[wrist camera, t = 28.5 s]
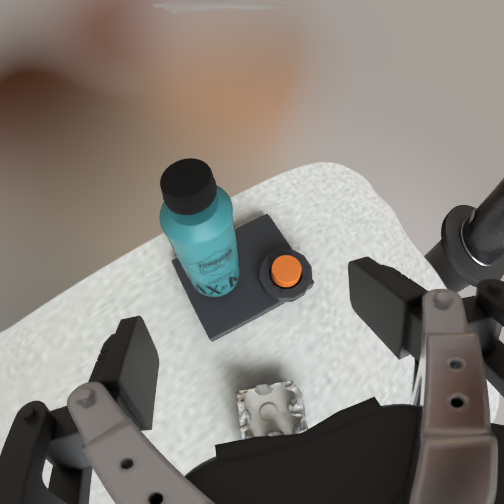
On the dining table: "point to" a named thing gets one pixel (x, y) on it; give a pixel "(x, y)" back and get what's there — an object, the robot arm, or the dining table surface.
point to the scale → (249, 281)
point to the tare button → (286, 271)
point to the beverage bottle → (200, 226)
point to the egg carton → (271, 410)
